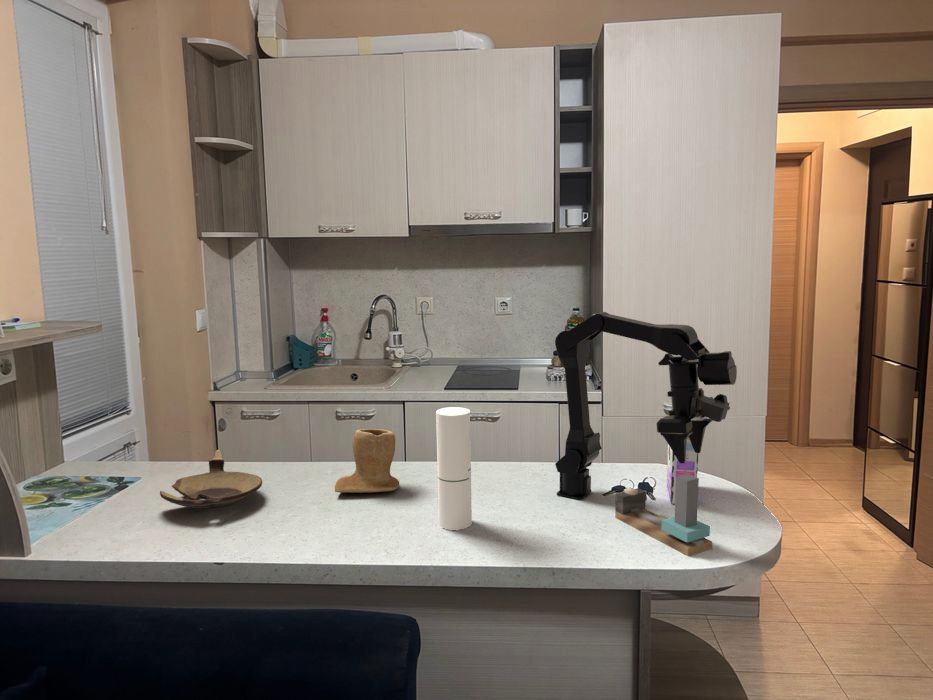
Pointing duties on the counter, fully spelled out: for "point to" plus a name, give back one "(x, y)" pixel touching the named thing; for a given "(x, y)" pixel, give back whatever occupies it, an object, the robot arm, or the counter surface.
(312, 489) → the counter surface
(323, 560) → the counter surface
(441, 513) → the cylindrical container
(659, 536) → the rail
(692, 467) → the candy box
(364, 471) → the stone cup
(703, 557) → the counter surface
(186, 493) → the oil lamp
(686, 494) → the carriage
